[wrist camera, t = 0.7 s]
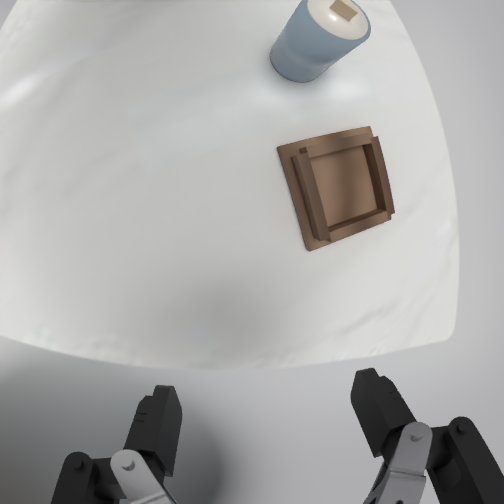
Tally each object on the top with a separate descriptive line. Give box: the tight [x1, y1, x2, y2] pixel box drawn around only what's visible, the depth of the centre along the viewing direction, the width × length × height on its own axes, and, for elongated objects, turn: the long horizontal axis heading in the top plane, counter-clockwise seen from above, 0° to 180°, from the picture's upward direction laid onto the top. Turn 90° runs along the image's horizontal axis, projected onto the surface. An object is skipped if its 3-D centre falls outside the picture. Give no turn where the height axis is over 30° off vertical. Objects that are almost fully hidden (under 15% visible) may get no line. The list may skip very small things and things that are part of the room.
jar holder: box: [277, 126, 395, 251], centre depth 28 cm, size 12×12×3 cm
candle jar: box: [270, 0, 371, 82], centre depth 19 cm, size 6×6×13 cm
